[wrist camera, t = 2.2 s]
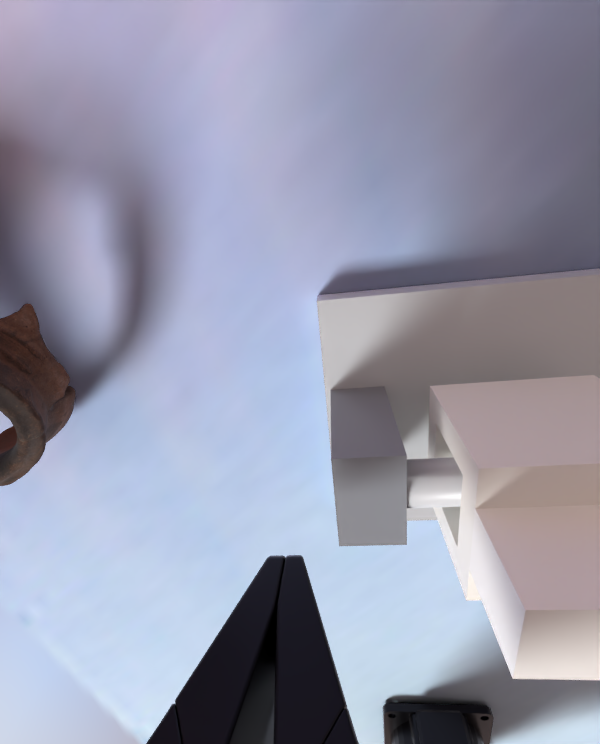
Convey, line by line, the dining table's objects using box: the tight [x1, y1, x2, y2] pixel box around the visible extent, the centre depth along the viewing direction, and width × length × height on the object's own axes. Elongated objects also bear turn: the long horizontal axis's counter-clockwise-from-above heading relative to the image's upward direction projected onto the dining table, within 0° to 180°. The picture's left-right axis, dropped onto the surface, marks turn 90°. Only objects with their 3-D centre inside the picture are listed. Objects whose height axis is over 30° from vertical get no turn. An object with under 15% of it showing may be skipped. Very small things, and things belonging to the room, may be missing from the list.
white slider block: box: [428, 375, 600, 680], centre depth 10 cm, size 5×4×7 cm
